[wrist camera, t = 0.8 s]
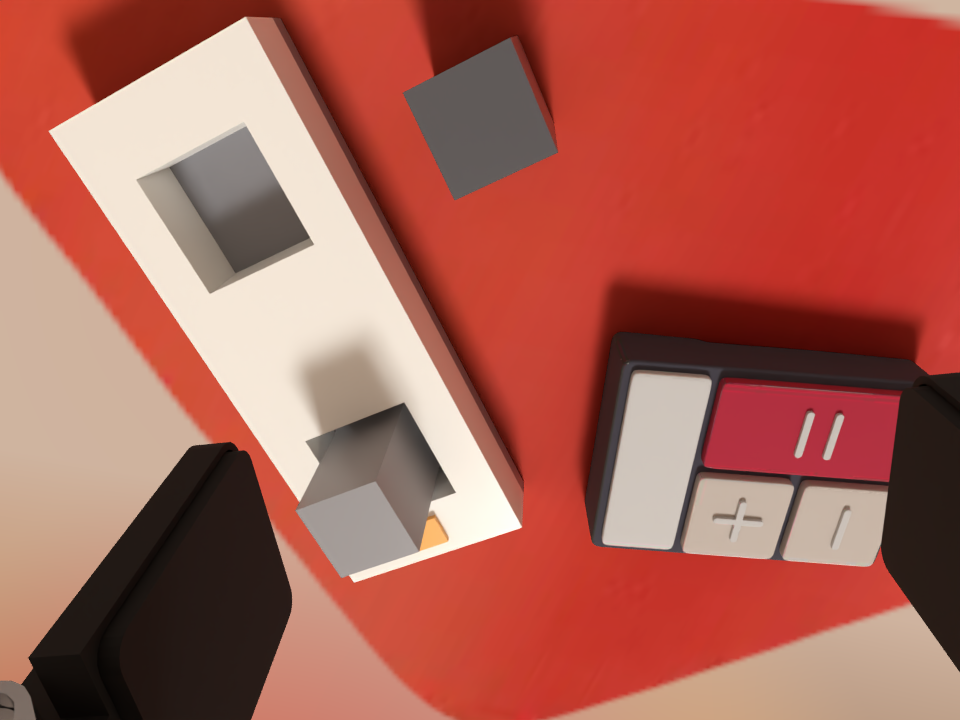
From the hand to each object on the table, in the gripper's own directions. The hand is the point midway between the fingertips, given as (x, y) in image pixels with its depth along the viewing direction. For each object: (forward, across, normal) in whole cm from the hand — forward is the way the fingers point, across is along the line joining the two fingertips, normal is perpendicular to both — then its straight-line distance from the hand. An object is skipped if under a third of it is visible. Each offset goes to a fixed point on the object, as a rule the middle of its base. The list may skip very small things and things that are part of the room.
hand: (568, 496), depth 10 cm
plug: (+25, +1, -4) cm, 25 cm away
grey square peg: (+24, +8, +12) cm, 29 cm away
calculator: (+25, -10, +15) cm, 31 cm away
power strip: (+25, +11, +6) cm, 28 cm away
